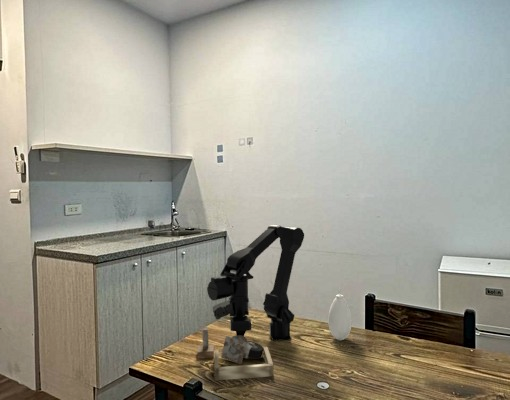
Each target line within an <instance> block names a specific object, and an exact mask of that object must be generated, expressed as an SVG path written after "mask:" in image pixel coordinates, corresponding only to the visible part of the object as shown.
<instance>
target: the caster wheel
mask: <svg viewBox="0 0 510 400" xmlns="http://www.w3.org/2000/svg"><path fill="white" fill-rule="evenodd" d="M263 347H264V346H262V345H261V344H260V343H257V342H255V341H252V340H248V339H247V338H246V337H245V335H244V336H242V335H236V334H235V335H234V336H229V335H226V336H225V338H224V343H223V346H222V351H221V355H220V358H221V359H225V361H230V362H232V363H235V364H238V365H242V364H243V358H244V359H252V360H253V359H254V360H259V359H261V358H262V357H263Z"/></svg>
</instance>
